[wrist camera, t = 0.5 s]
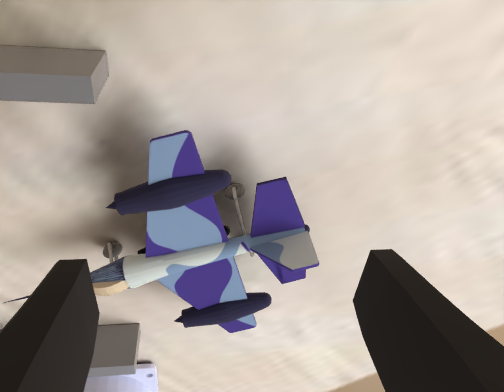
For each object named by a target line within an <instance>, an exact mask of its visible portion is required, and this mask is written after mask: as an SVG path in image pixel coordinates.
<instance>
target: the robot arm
mask: <svg viewBox="0 0 504 392" xmlns="http://www.w3.org/2000/svg"><path fill="white" fill-rule="evenodd" d="M353 303H354V307H355V311H356V314H357V318H358V322H359V325H360V329H361V332H362V336H363V338H364V341H365V343H366V346H367V348H368V351H369V353H370V356H371V358H372V360H373V363H374V365H375V368H376V370H377V372H378V375H379V377H380V380H381V382H382V384H383V387H384V389H385V392H504V346H503V345H501V344H500V343H499V342H498V341H496V340H495V339H494V338H493V337H492V336H490V335H489V334H488V333H487V332H485V331H484V330H483V329H482V328H480V327H479V326H478V325H477V324H476V323H474V322H473V321H472V320H471V319H470V318H469V317H467V316H466V315H465V314H464V313H463V312H462V311H460V310H459V309H458V308H457V307H456V306H455V305H454V304H452V303H451V302H450V301H449V300H448V299H447V298H446V297H445V296H443V295H442V294H441V293H440V292H439V291H438V290H437V289H436V288H435V287H433V286H432V285H431V284H430V283H429V282H428V281H427V280H426V279H425V278H424V277H422V276H421V275H420V274H419V273H418V272H417V271H416V270H415V269H414V268H413V267H412V266H410V265H409V264H408V263H407V262H406V261H405V260H404V259H403V258H402V257H400V256H399V255H398V254H397V253H396V252H395V251H393V250H392V249H386V250H370V253H369V256H368V259H367V262H366V264H365V267H364V270H363V273H362V276H361V279H360V281H359V284H358V287H357V290H356V293H355V296H354V298H353ZM98 320H99V309H98V305H97V301H96V297H95V292H94V288H93V284H92V280H91V276H90V271H89V267H88V263H87V259H73V260H59V261H58V262H57V263H56V264H55V265H54V266H53V268H52V269H51V270H50V271H49V273H48V274H47V275H46V277H45V278H44V279H43V280H42V282H41V283H40V284H39V286H38V287H37V288H36V289H35V291H34V292H33V293H32V294H31V296H30V297H29V298H28V299H27V300H26V302H25V303H24V304H23V305H22V307H21V308H20V309H19V310H18V312H17V313H16V314H15V315H14V316H13V317H12V319H11V320H10V321H9V322H8V323H7V324H6V326H5V327H4V328H3V329H2V330H1V332H0V392H159V390H158V379H157V368H156V365H154V364H137V365H136V374H130V375H115V376H100V377H88V373H89V369H90V366H91V362H92V358H93V354H94V348H95V341H96V335H97V328H98Z"/></svg>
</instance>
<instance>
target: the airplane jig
mask: <svg viewBox="0 0 504 392" xmlns="http://www.w3.org/2000/svg"><path fill="white" fill-rule="evenodd" d="M108 76H109V72H108V63H107V55H106V51H96V50H79V49H61V48H44V47H26V46H9V45H0V100H1V101H28V102H55V103H82V104H95V103H96V101H97V99H98V97H99V95H100V93H101V91H102V88H103V86H104V84H105V82H106V80H107V78H108ZM0 332H1V330H0ZM139 341H140V325H139V324H123V325H102V326H98V328H97V335H96V341H95V348H94V354H93V358H92V362H91V366H90V369H89V373H88V377H100V376H115V375H130V374H136V365H137V357H138V349H139Z"/></svg>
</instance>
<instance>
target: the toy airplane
mask: <svg viewBox="0 0 504 392" xmlns="http://www.w3.org/2000/svg"><path fill="white" fill-rule="evenodd" d="M230 183H231V175H230V174H229V172H227V171H225V170H204V168H203V165H202V162H201V159H200V156H199V154H198V151H197V148H196V145H195V142H194V139H193V136H192V133H191V132H190V131H187V130H184V131H180V132H176V133H173V134H169V135H165V136H161V137H157V138H153V139H152V140H151V141H150V151H149V178H148V182H146V183H143V184H141V185H138V186H136V187H133V188H131V189H128V190H125V191H123V192H120V193H116V194H115V196H114V202H113V203H112V204H110V205H109V206H107V207H106V208H111V209H117V211H118V213H119V214H120V215H126V214H133V213H142V212H147V232H146V248H144V249H141V250H139V251H138V255H129V256H125V257H123V258H121V259H118V255H119V254H120V253H121V251H122V246H121V244H120V243H118V242H113V243H108V244H107V246H106V247H105V248H104V250H103V255H104V256H105V257H106V258H110V264H108V265H106V266H103V267H101V268H99V269H97V270H95V271H93V272H91V273H90V276H91V280H92V284H93V288H94V292H95V295H99V296H109V295H112V294H116V293H118V292H121V291H123V290H125V289H133V288H136V287H139V286H141V285H144V284H146V283H149V282H151V281H154V280H157V281H159V282H160V283H161V284H163V285H164V286H166V287H167V288H168V289H170V290H171V291H173V292H174V293H175V294H177V295H178V296H179V297H181V298H182V299H184V300H185V301H186V302H188V303H189V304H191V305H192V306H193V307H190V308H188V309H184V310H182V316H180V317H179V318H178V319H176V320H175V322H181V323H183V325H184V327H185V328H187V327H194V326H204V325H214V324H218V325H220V326H221V327H222V328H224V329H225V330H227V331H228V332H229V333H233V332H238V331H242V330H246V329H250V328H254V327H256V321H255V318H254V315H253V313H255V312H257V311H259V310H262V309H264V308H266V307H268V306H269V305H270V304H271V296H270V295H269V294H268V293H265V292H264V293H246V292H245V289H244V286H243V283H242V280H241V277H240V274H239V271H238V268H237V265H236V262H235V259H234V257H233V256H236V255H239V254H243V253H246V252H250V254H251V256H252V257H253V256H254V252H255V253H257V254H258V255H259V257H260V258H261V259H262V260H263V262H264V263H265V264H266V265H267V266H268V268H269V269H270V270H271V271H272V272H273V274H274V275H275V276H276V277H277V279H278V280H279V281H280V282H281V283H282V284H284V283H288V282H292V281H296V280H300V279H304V278H305V277H306V269H308V268H313V267H317V266H318V265H319V261H318V258H317V255H316V252H315V249H314V247H313V244H312V241H311V238H310V235H309V231H310V228H309V226H308V225H305V224H304V221H303V218H302V216H301V213H300V211H299V208H298V206H297V203H296V201H295V198H294V196H293V193H292V191H291V188H290V186H289V183H288V181H287V178H286V177H283V178H278V179H274V180H270V181H265V182H261V183H257V187H256V195H255V203H254V211H253V219H252V228H251V234H250V235H246V231H245V227H244V223H243V219H242V215H241V211H240V208H239V204H238V200H237V199H238V198H240V197H241V196H242V195H243V194H244V191H245V189H244V187H243V186H242V185H241V184H232V185H230ZM226 187H227V188H226ZM224 188H226V189H225V196H226V197H227V198H229V199H234V202H235V206H236V210H237V213H238V217H239V221H240V225H241V229H242V232H243V236H240V237H235V238H230V239H228V237H227V236H228V235H229V233H230V229H229V227H227V226H223V223H222V220H221V217H220V214H219V211H218V208H217V206H216V203H215V200H214V197H213V194H214V193H216V192H218V191H220V190H222V189H224ZM145 253H146V254H145ZM113 258H115V261H113ZM30 296H31V295H30ZM30 296H26V297H23V298H19V299H15V300H20V299H25V298H29V297H30ZM15 300H12V301H15ZM8 302H11V301H8ZM5 303H6V302H5Z"/></svg>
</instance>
